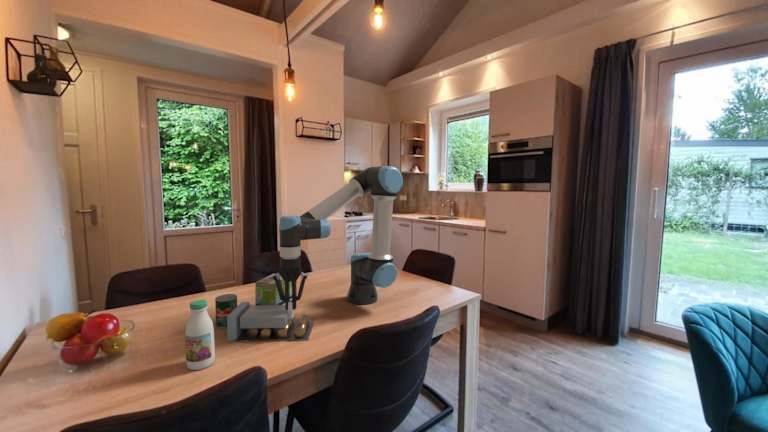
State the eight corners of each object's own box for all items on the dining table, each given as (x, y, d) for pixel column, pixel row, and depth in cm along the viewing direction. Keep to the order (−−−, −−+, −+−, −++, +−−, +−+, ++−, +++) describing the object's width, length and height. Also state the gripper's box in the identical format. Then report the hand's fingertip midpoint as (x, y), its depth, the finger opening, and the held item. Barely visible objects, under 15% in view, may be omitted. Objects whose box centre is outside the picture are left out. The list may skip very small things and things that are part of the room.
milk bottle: (194, 357, 104) (191, 297, 102) (219, 357, 105) (217, 297, 103) (181, 371, 96) (178, 306, 94) (208, 370, 97) (205, 306, 95)
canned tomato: (215, 329, 124) (214, 302, 123) (215, 321, 131) (214, 295, 130) (238, 326, 127) (237, 299, 126) (237, 318, 134) (236, 292, 133)
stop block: (250, 323, 130) (249, 301, 129) (236, 340, 116) (235, 316, 115) (242, 323, 129) (241, 301, 128) (227, 340, 115) (227, 316, 115)
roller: (256, 317, 127) (264, 316, 128) (258, 325, 128) (266, 323, 128) (247, 329, 118) (256, 327, 118) (249, 337, 118) (258, 335, 118)
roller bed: (314, 322, 132) (314, 313, 131) (308, 340, 117) (308, 330, 116) (249, 323, 130) (249, 314, 130) (234, 341, 115) (234, 331, 115)
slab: (292, 314, 129) (292, 305, 129) (285, 327, 117) (285, 317, 117) (251, 315, 128) (251, 305, 128) (240, 328, 116) (239, 317, 116)
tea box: (276, 318, 136) (275, 283, 134) (254, 315, 138) (253, 281, 136) (293, 305, 150) (292, 274, 149) (273, 303, 152) (273, 272, 151)
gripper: (309, 254, 125) (309, 313, 127) (275, 254, 124) (276, 313, 127) (306, 259, 118) (306, 321, 120) (269, 259, 117) (270, 321, 119)
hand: (291, 317), depth 123 cm, fingers closed
